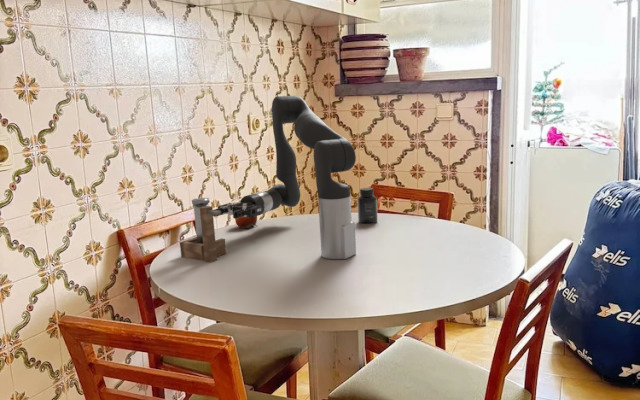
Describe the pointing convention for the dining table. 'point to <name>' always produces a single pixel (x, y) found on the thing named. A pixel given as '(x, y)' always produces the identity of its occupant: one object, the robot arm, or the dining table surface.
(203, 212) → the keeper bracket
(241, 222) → the fruit
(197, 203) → the pin
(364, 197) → the supplement bottle
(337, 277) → the dining table surface
